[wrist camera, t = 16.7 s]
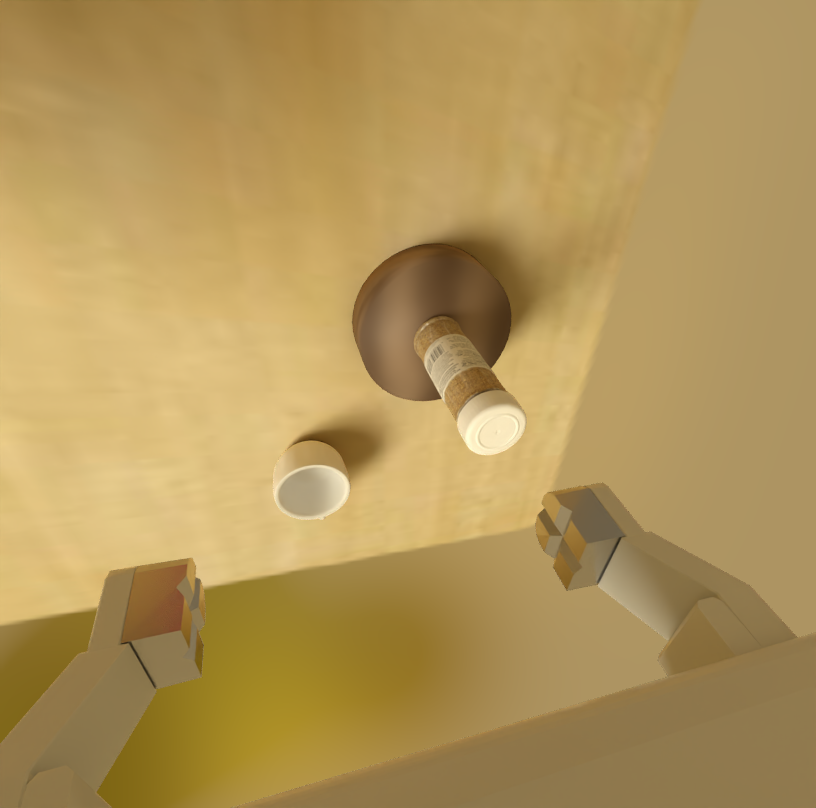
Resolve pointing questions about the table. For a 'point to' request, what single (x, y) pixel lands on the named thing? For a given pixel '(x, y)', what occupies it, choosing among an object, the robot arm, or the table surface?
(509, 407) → the sprinkles bottle
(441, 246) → the disc
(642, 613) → the robot arm
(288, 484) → the teacup
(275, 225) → the table surface
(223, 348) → the table surface
